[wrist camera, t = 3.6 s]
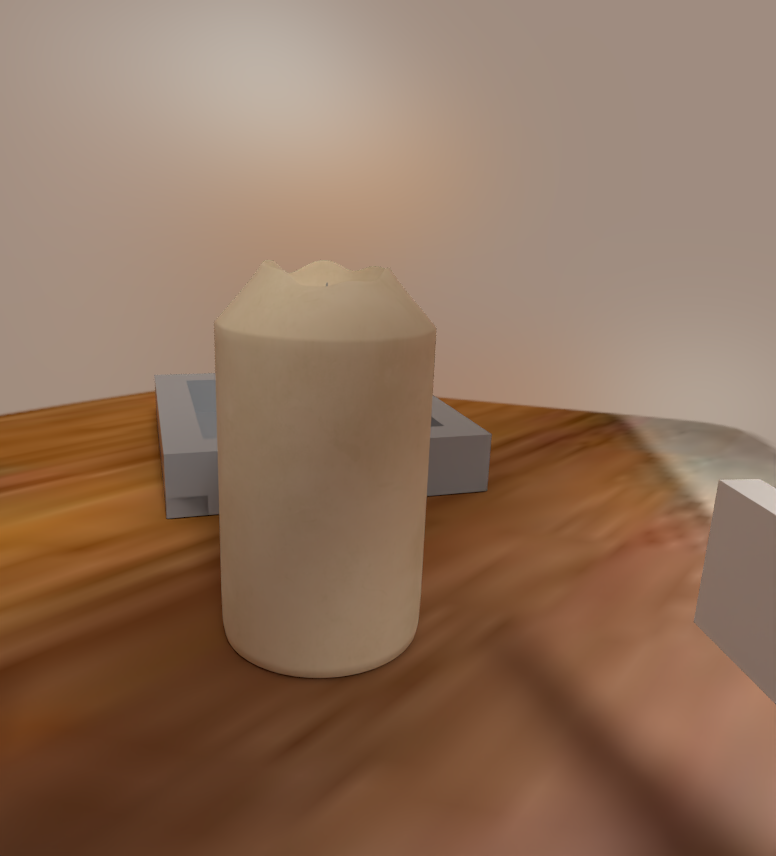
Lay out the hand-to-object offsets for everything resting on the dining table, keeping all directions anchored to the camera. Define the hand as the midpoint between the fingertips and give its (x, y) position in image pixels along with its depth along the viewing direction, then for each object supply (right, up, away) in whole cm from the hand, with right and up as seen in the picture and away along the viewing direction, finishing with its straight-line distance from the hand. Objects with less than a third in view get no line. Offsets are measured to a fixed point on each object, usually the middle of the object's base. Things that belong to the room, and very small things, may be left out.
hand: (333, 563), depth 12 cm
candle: (-1, -4, +9) cm, 10 cm away
